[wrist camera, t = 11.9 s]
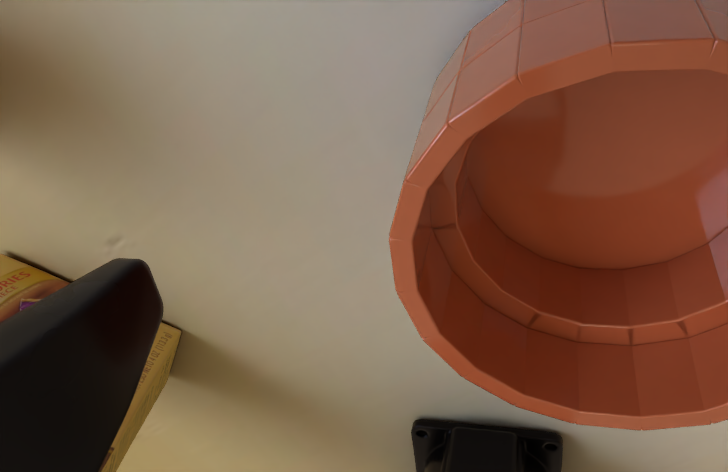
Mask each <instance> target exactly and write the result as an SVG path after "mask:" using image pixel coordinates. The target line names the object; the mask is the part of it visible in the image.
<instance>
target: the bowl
mask: <svg viewBox="0 0 728 472" xmlns="http://www.w3.org/2000/svg"><path fill="white" fill-rule="evenodd" d="M389 236H390V237H389V244H390V252H391V259H392V266H393V274H394V281H395V289H396V291H397V294H398V296H399V298H400V300H401V301H402V303H403V305H404V307H405V309H406V311H407V312H408V314H409V316H410V318H411V320H412V322H413V323H414V325H415V327H416V329H417V331H418V332H419V334H420V336H421V338H423V341H424V342H425V343H426V344H427V345H429V346H430V347H431V348H432V349H433V350H434V351H435V352H436V353H437V354H438V355H439V356H440V357H441V358H442V359H443V360H444V361H445V362H446V363H448V364H449V365H450V366H451V367H452V368H453V369H454V370H455V371H456V372H457V373H458V374H459V375H460V376H461V377H464V378H465V379H466V380H468V381H470V382H472V383H474V384H475V385H477V386H479V387H481V388H483V389H485V390H486V391H488V392H490V393H492V394H494V395H495V396H497V397H499V398H501V399H503V400H504V401H506V402H508V403H510V404H512V405H515V406H516V407H519V408H522V409H526V410H529V411H532V412H536V413H539V414H543V415H546V416H549V417H553V418H556V419H559V420H563V421H566V422H570V423H576V424H578V425H589V426H599V427H609V428H620V429H630V430H641V429H642V430H654V429H666V428H677V427H688V426H699V425H710V424H711V423H718V422H721V421H724V420H728V0H508V1H507V2H506V3H504V4H503V5H502V6H501V7H499V8H498V9H497V10H495V11H494V12H493V13H492V14H490V15H489V16H488V17H486V18H485V19H484V20H482V21H481V22H480V23H479V24H477V25H476V26H475V27H473V28H472V30H471V31H469V32H468V34H467V35H466V37H465V38H464V39H463V41H462V42H461V44H460V45H459V47H458V48H457V50H456V51H455V53H454V54H453V55H452V57H451V58H450V60H449V61H448V63H447V64H446V66H445V67H444V69H443V70H442V71H441V73H440V74H439V76H438V77H437V79H436V82H435V84H434V87H433V90H432V93H431V96H430V99H429V103H428V106H427V109H426V112H425V115H424V118H423V121H422V125H421V128H420V131H419V134H418V137H417V140H416V143H415V147H414V150H413V153H412V156H411V159H410V162H409V165H408V169H407V172H406V175H405V178H404V181H403V185H402V189H401V192H400V196H399V200H398V204H397V207H396V211H395V215H394V219H393V222H392V226H391V230H390V234H389Z"/></svg>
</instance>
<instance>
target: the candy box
mask: <svg viewBox="0 0 728 472" xmlns="http://www.w3.org/2000/svg"><path fill="white" fill-rule="evenodd" d="M68 284H70V283H69V282H66V281H64V280H62V279H59V278H57V277H55V276H53V275H50V274H48V273H46V272H44V271H41V270H39V269H37V268H34V267H32V266H30V265H27V264H25V263H22V262H19V261H17V260H15V259H12V258H10V257H8V256H5V255H3V254H0V322H1V321H3V320H5V319H7V318H9V317H10V316H12V315H14V314H16V313H18V312H19V311H21V310H23V309H25V308H27V307H28V306H30V305H32V304H34V303H36V302H37V301H39V300H41V299H43V298H45V297H47V296H48V295H50V294H52V293H54V292H56V291H57V290H59V289H61V288H63V287H65V286H66V285H68ZM181 333H182V332H181V331H180V330H178V329H176V328H173V327H171V326H169V325H166V324H164V323H162V322H161V323H160V326H159V329H158V332H157V334H156V337H155V340H154V343H153V345H152V348H151V351H150V354H149V356H148V359H147V362H146V365H145V367H144V370H143V373H142V376H141V378H140V381H139V384H138V387H137V389H136V392H135V395H134V397H133V400H132V402H131V405H130V407H129V410H128V412H127V414H126V416H125V418H124V421H123V423H122V425H121V427H120V429H119V431H118V433H117V435H116V437H115V439H114V441H113V444H112V446H111V448H110V450H109V452H108V454H107V456H106V458H105V460H104V462H103V464H102V466H101V468H100V470H99V472H116V471H117V469H118V467H119V465H120V463H121V462H122V460H123V458H124V456H125V454H126V453H127V451H128V449H129V447H130V445H131V444H132V442H133V440H134V438H135V437H136V435H137V433H138V431H139V430H140V428H141V426H142V424H143V423H144V421H145V419H146V417H147V416H148V414H149V412H150V410H151V409H152V407H153V405H154V403H155V401H156V400H157V398H158V396H159V394H160V393H161V391H162V389H163V388H164V386H165V384H166V382H167V380H168V376H169V372H170V369H171V366H172V363H173V359H174V356H175V352H176V349H177V346H178V343H179V339H180V336H181Z"/></svg>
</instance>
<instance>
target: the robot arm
mask: <svg viewBox="0 0 728 472" xmlns="http://www.w3.org/2000/svg"><path fill="white" fill-rule="evenodd" d="M162 317H163V302H162V299H161V296H160V294H159V291H158V289H157V286H156V284H155V281H154V278H153V276H152V273H151V271H150V268H149V266H148V265H147V264H146V263H145V262H144V261H143V260H140V259H127V258H118V259H114V260H112V261H110V262H108V263H106V264H104V265H103V266H101V267H99V268H97V269H95V270H94V271H92V272H90V273H88V274H86V275H85V276H83V277H81V278H79V279H77V280H75V281H74V282H72V283H70V284H68V285H66V286H65V287H63V288H61V289H59V290H57V291H56V292H54V293H52V294H50V295H48V296H47V297H45V298H43V299H41V300H39V301H37V302H36V303H34V304H32V305H30V306H28V307H27V308H25V309H23V310H21V311H19V312H18V313H16V314H14V315H12V316H10V317H9V318H7V319H5V320H3V321H1V322H0V472H99V470H100V468H101V466H102V464H103V462H104V460H105V458H106V456H107V454H108V452H109V450H110V448H111V446H112V444H113V441H114V439H115V437H116V435H117V433H118V431H119V429H120V427H121V425H122V423H123V421H124V418H125V416H126V414H127V412H128V410H129V407H130V405H131V402H132V400H133V397H134V395H135V392H136V389H137V387H138V384H139V381H140V378H141V376H142V373H143V370H144V367H145V365H146V362H147V359H148V356H149V354H150V351H151V348H152V345H153V343H154V340H155V337H156V334H157V332H158V329H159V326H160V323H161V321H162ZM411 434H412V441H413V448H414V456H415V463H416V470H417V472H561V465H562V452H563V440H562V437H561V436H560V435H558V434H556V433H552V432H544V431H534V430H524V429H514V428H504V427H494V426H484V425H474V424H464V423H454V422H444V421H434V420H424V419H420V420H416V421H414V422H413V426H412V432H411Z"/></svg>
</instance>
